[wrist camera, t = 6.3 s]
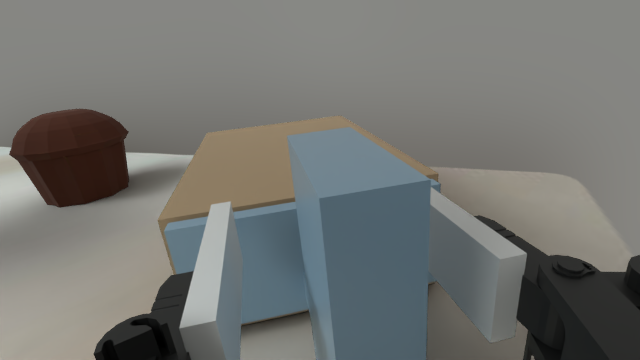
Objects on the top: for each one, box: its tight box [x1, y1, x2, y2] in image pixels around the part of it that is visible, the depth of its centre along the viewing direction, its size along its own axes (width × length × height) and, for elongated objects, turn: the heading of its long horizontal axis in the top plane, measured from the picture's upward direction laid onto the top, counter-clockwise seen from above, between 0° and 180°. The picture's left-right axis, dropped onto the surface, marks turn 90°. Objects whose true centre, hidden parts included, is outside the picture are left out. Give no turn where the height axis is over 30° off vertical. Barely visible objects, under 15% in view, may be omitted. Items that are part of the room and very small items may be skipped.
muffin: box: [9, 109, 129, 207], centre depth 40 cm, size 12×11×10 cm
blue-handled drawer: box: [164, 127, 441, 360], centre depth 21 cm, size 29×13×10 cm, turn 12°
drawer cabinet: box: [158, 116, 438, 326], centre depth 27 cm, size 20×14×7 cm
